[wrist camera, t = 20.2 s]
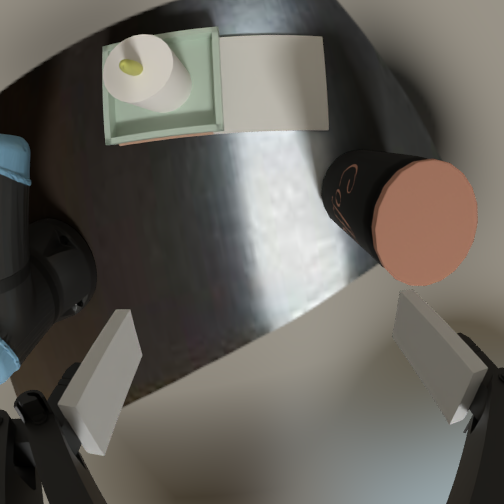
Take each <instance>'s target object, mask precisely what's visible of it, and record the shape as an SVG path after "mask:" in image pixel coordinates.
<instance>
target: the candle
mask: <svg viewBox="0 0 504 504" xmlns="http://www.w3.org/2000/svg"><path fill="white" fill-rule="evenodd" d="M103 80H104V85H105V87H106V89H107V90H108V92H109V93H110V94H111V95H112V96H113V97H114V98H116V99H118V100H120V101H123V102H126V103H129V104H132V105H135V106H139V107H142V108H145V109H148V110H151V111H154V112H158V113H167V112H171V111H174V110H176V109H177V108H179V107H181V106H182V105H183V104H184V103H185V102H186V100H187V99H188V97H189V96H190V93H191V90H192V80H191V76H190V74H189V72H188V71H187V69H186V68H185V67H184V65H183V64H182V63H181V61H180V60H179V59H178V58H177V56H176V55H175V54H174V52H173V51H172V50H171V49H170V47H169V46H168V45H167V44H166V43H165V42H164V41H163V40H162V39H160V38H158V37H156V36H153V35H147V34H142V35H135V36H132V37H129V38H127V39H125V40H124V41H122V42H121V43H119V44H118V45H117V46H116V47H115V48H114V49H113V50H112V51H111V52H110V54H109V56H108V57H107V59H106V62H105V65H104V68H103Z"/></svg>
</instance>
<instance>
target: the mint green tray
mask: <svg viewBox="0 0 504 504" xmlns="http://www.w3.org/2000/svg"><path fill="white" fill-rule="evenodd" d="M153 36H156V37H158V38H160V39H162V40H163V41H164V42H165V43H166V44H167V45H168V46H169V47H170V49H171V50H172V51H173V52H174V54H175V55H176V56H177V58H178V59H179V60H180V61H181V63H182V64H183V65H184V67H185V68H186V69H187V71H188V72H189V74H190V76H191V80H192V90H191V93H190V96H189V97H188V99H187V100H186V102H185V103H184V104H183V105H182V106H181V107H179V108H177V109H176V110H174V111H171V112H167V113H158V112H154V111H151V110H148V109H145V108H142V107H139V106H135V105H132V104H129V103H126V102H123V101H120V100H118V99H116V98H114V97H113V96H112V95H111V94H110V93H109V92H108V90H107V89H106V87H105V85H104V80H103V112H104V130H105V144H106V145H115V144H121V143H127V142H134V141H140V140H147V139H154V138H161V137H169V136H178V135H187V134H196V133H207V132H219V131H224V115H223V97H222V78H221V58H220V37H219V30H218V27H207V28H198V29H190V30H182V31H175V32H169V33H163V34H157V35H153ZM119 43H121V42H119ZM119 43H115V44H111V45H107V46H104V47H103V63H102V76H103V68H104V65H105V62H106V59H107V57H108V56H109V54H110V52H111V51H112V50H113V49H114V48H115V47H116V46H117V45H118V44H119Z"/></svg>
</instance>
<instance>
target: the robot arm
mask: <svg viewBox="0 0 504 504" xmlns="http://www.w3.org/2000/svg"><path fill="white" fill-rule="evenodd" d="M30 185H31V180H30V148H29V145H28V143H27V142H26V141H25V139H23V138H22V137H19V136H14V135H6V134H0V384H2V383H4V382H5V381H6V380H7V379H8V378H9V377H10V376H11V375H12V374H13V373H14V371H17V370H18V369H19V368H20V365H21V364H22V363H23V361H24V360H25V359H26V357H27V356H28V355H29V354H30V352H31V351H32V350H33V349H34V347H35V346H36V345H37V343H38V342H39V341H40V340H41V339H42V337H43V336H44V335H45V334H46V332H47V331H48V330H49V329H50V327H51V326H52V325H53V324H54V323H56V322H58V321H61V320H63V319H66V318H68V317H71V316H73V315H75V314H77V313H78V312H80V311H81V310H82V309H83V308H84V307H85V306H86V304H87V303H88V302H89V301H90V299H91V298H92V296H93V294H94V291H95V288H96V282H97V272H96V266H95V262H94V258H93V256H92V253H91V251H90V249H89V247H88V245H87V244H86V242H85V241H84V239H83V238H82V237H81V236H80V234H79V233H78V232H77V231H76V230H75V229H73V228H72V227H71V226H69V225H68V224H66V223H64V222H62V221H60V220H56V219H50V218H46V219H41V220H38V221H36V222H33V223H31V224H29V189H30ZM392 337H393V339H394V341H395V342H396V343H397V345H398V346H399V348H400V349H401V351H402V352H403V354H404V355H405V357H406V358H407V360H408V361H409V362H410V364H411V365H412V367H413V369H414V370H415V372H416V373H417V375H418V376H419V378H420V379H421V381H422V382H423V384H424V385H425V387H426V388H427V390H428V391H429V393H430V395H431V396H432V398H433V399H434V401H435V402H436V404H437V406H438V407H439V409H440V410H441V412H442V414H443V415H444V417H445V418H446V420H447V422H448V423H449V425H450V424H453V423H455V422H458V421H461V420H463V419H464V417H465V416H466V414H467V412H468V410H469V409H470V411H471V412H472V413H473V416H472V418H471V419H470V421H469V423H468V425H467V427H466V429H465V430H464V433H466V431H467V430H468V433H467V437H466V441H465V445H464V449H463V453H462V457H461V460H460V464H459V467H458V470H457V474H456V477H455V480H454V484H453V486H452V489H451V492H450V495H449V498H448V501H447V503H446V504H504V368H497V367H496V365H495V364H494V363H493V362H492V361H491V360H490V359H489V358H488V357H487V356H486V355H485V354H484V352H483V351H481V349H480V348H479V347H478V346H476V344H475V343H474V342H473V341H472V340H471V339H470V338H469V337H467V336H466V335H463V334H462V333H456V332H455V331H454V330H453V329H452V328H451V327H450V326H449V325H448V324H447V323H446V322H445V321H444V320H443V319H442V318H441V317H440V316H439V315H438V314H437V313H436V312H435V311H434V310H433V309H432V308H431V307H430V306H429V305H428V304H427V303H426V302H425V301H424V300H423V299H422V298H421V297H420V296H419V295H418V294H417V293H416V292H415V291H414V290H413V289H411V290H403V291H400V294H399V300H398V306H397V313H396V318H395V324H394V329H393V335H392ZM141 357H142V352H141V349H140V345H139V342H138V338H137V334H136V331H135V327H134V323H133V319H132V315H131V311H130V309H119V310H115V312H114V313H113V315H112V316H111V318H110V319H109V321H108V322H107V324H106V325H105V327H104V328H103V330H102V331H101V333H100V335H99V336H98V338H97V339H96V341H95V342H94V344H93V346H92V347H91V349H90V350H89V352H88V354H87V355H86V357H85V358H84V360H83V362H82V363H76V362H75V363H74V364H73V365H71V366H70V367H69V368H68V369H67V370H66V371H65V373H64V374H63V376H62V379H60V381H59V382H58V385H57V386H56V387H55V389H54V391H53V392H52V394H51V395H50V397H49V399H48V400H46V398H45V397H44V395H43V393H42V392H40V391H38V390H30V391H26V392H24V393H22V394H21V395H20V396H18V397H17V399H16V401H15V403H14V408H15V410H16V411H17V413H18V414H19V416H20V418H21V419H11V418H10V416H9V415H8V413H7V412H6V411H4V410H0V504H44V503H43V494H42V485H43V488H44V491H45V493H46V496H47V499H48V501H49V504H107V503H106V501H105V499H104V498H103V496H102V494H101V492H100V490H99V489H98V487H97V485H96V483H95V481H94V479H93V478H92V476H91V474H90V472H89V470H88V468H87V466H86V464H85V462H84V460H83V458H82V456H81V454H80V453H79V449H80V446H81V444H82V445H83V447H84V448H85V450H86V451H87V453H91V454H97V455H103V456H104V455H105V453H106V450H107V447H108V444H109V441H110V439H111V436H112V433H113V430H114V427H115V425H116V422H117V419H118V416H119V414H120V411H121V408H122V406H123V403H124V400H125V398H126V395H127V393H128V390H129V387H130V385H131V382H132V380H133V377H134V375H135V372H136V370H137V367H138V365H139V362H140V360H141ZM41 482H42V483H41Z"/></svg>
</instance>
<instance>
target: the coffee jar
mask: <svg viewBox="0 0 504 504" xmlns="http://www.w3.org/2000/svg"><path fill="white" fill-rule="evenodd" d="M322 198H323V204H324V207H325V209H326V211H327V213H328V215H329V217H330V218H331V219H332V220H333V221H334V222H335V223H336V224H337V225H338V226H339V227H340V228H342V229H343V230H344V231H345V232H346V233H347V234H348V235H349V236H350V237H351V238H353V239H354V240H355V241H356V242H357V243H358V244H359V245H360V246H361V247H362V248H363V249H364V250H365V251H366V252H368V253H369V254H370V255H371V256H372V257H373V258H374V259H375V260H376V261H377V262H378V263H379V264H380V265H381V266H382V267H384V268H385V269H386V270H387V271H388V272H389V273H390V274H391V275H392V276H393V277H394V278H395V279H396V280H399V281H401V282H404V283H406V284H408V285H414V286H417V285H418V286H426V285H430V284H432V283H436V282H438V281H441V280H442V279H444V278H445V277H447V276H448V275H450V274H451V273H452V272H454V271H455V270H456V268H457V267H458V266H459V265H460V264H461V262H462V261H463V260H464V259H465V257H466V256H467V253H468V251H469V249H470V247H471V245H472V243H473V241H474V237H475V233H476V228H477V223H478V216H477V202H476V199H475V195H474V192H473V188H472V186H471V185H470V183H469V182H468V180H467V179H466V177H465V176H464V174H463V173H462V172H461V171H459V170H458V169H457V168H456V167H454V166H453V165H452V164H450V163H447V162H444V161H440V160H436V159H427V158H423V157H418V156H412V155H404V154H396V153H388V152H379V151H369V150H356V151H350V152H347V153H346V154H344V155H342V156H340V157H338V158H337V159H336V160H335V161H334V162H333V164H332V165H331V166H330V167H329V168H328V170H327V173H326V175H325V177H324V179H323V186H322Z"/></svg>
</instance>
